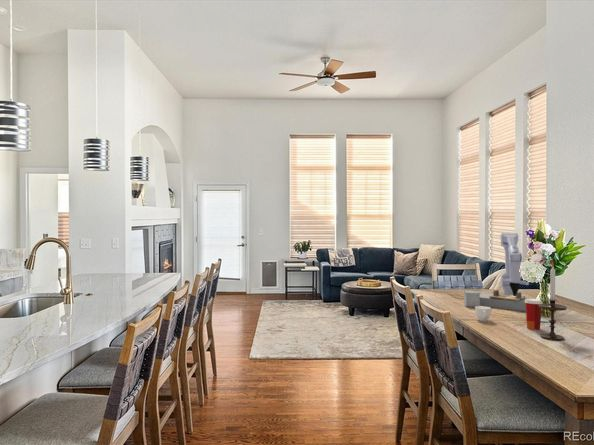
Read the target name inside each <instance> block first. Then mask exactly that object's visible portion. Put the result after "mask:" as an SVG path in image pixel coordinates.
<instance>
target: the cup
mask: <svg viewBox="0 0 594 445" xmlns="http://www.w3.org/2000/svg"><path fill="white" fill-rule="evenodd" d="M474 311H475V313H474V314H475V316H476V318H477V320H478V321H480V322H488V320H490V317H491V315H492V307H487V306H476V307H474Z"/></svg>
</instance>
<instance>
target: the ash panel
mask: <svg viewBox="0 0 594 445" xmlns="http://www.w3.org/2000/svg"><path fill="white" fill-rule="evenodd" d="M523 298H526V295H525V296H524V295H522V292H521V291H520V292H519V291H518V292H517V293H516V296H513V295H510V296H508V297H505V298H503V300H512V301H519V300H521V299H523Z"/></svg>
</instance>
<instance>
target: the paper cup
mask: <svg viewBox="0 0 594 445" xmlns="http://www.w3.org/2000/svg"><path fill="white" fill-rule="evenodd" d="M525 303H526V311H525V316H526V317H525V318H526V320H525V321H526V329H527V330H531V331H540V330H541V322H542V321H541V320H542V310H543V309H542V308H539V304H544V303H543V302H542V299H539V298H538V299H537V298H528V299H526V300H525Z"/></svg>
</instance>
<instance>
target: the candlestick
mask: <svg viewBox="0 0 594 445" xmlns="http://www.w3.org/2000/svg"><path fill="white" fill-rule="evenodd" d="M550 262H551V269H550V275H549V276H550V284H549V286H550V288H549V290H550V292H549V298H548V299H547V300H548V301H549V303H543V304H539V308H542V310H548V312H550V319H548V323H550V325H549V326H548V327H549V328H550V331H549V333H541V334H540V338H541V339H544V340H549V341H555V342H557V341H559V342H563V341H564V340H565V337H564V336H563V335H560V334H556V332H555V329H556V326H555V324H556V323H557V321H556V320H555V313H556V312H558V311H562V312H563V311H566V310H567V305H566V306H565V305H564V304H557V303H556V301H558V299H556V269H555V268H554V265H555V263H554V261H553V260H551V261H550Z"/></svg>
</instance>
